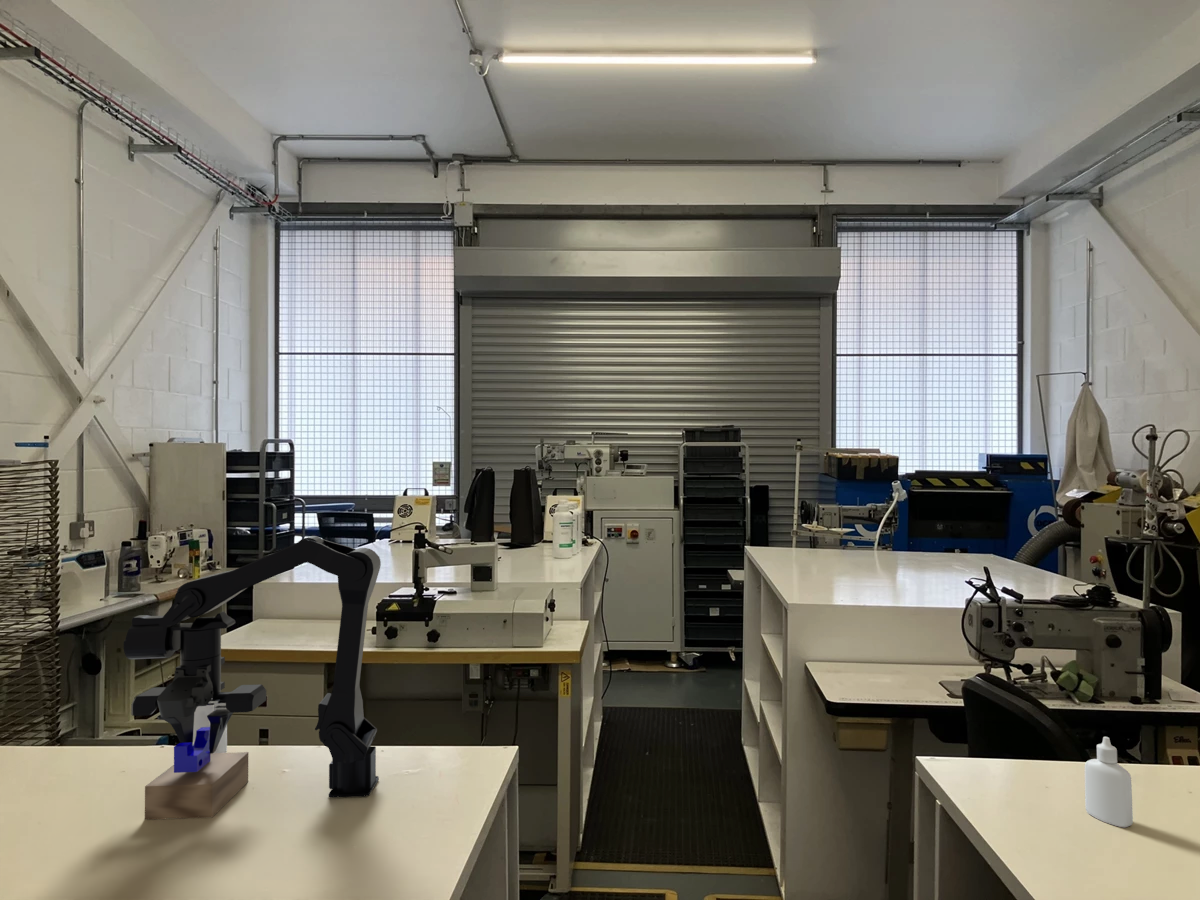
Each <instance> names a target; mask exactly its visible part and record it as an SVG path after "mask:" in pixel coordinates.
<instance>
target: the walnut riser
mask: <svg viewBox="0 0 1200 900" xmlns="http://www.w3.org/2000/svg"><path fill="white" fill-rule="evenodd" d="M248 783H249V752H248V751H243V752H241V751H239V752H238V751H237V752H236V751H235V752H227V753H213V754H210V762H209V763H207V764H206V765H205V766H204V767H202V768H201V769H200V770H199V771H198V772H181V773H174V764H173V765H171V766H170V767H169V768H167V769H166V770H165V771H164V772H162V773H161V774H160V775H158V776H156V777H155V778H154V779H153V780H151V781H150V782H149V783H147V784H146V785H145V786H144V820H147V821H148V820H168V819H167V818H177V819H195V818H198V819H199V818H201V819H202V818H203V819H205V818H213V817H214V816H215V815H216V814H217V813H218V812H220V811H221V809H222V808H223V807H224V806H225V805H227V803H229V802H230V801H231V799H232V798H233V797H234V796H236V794H237V793H239V791H240V790H242V789H243V788H244V787H245V786H246V784H248ZM165 818H166V819H165Z"/></svg>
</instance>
